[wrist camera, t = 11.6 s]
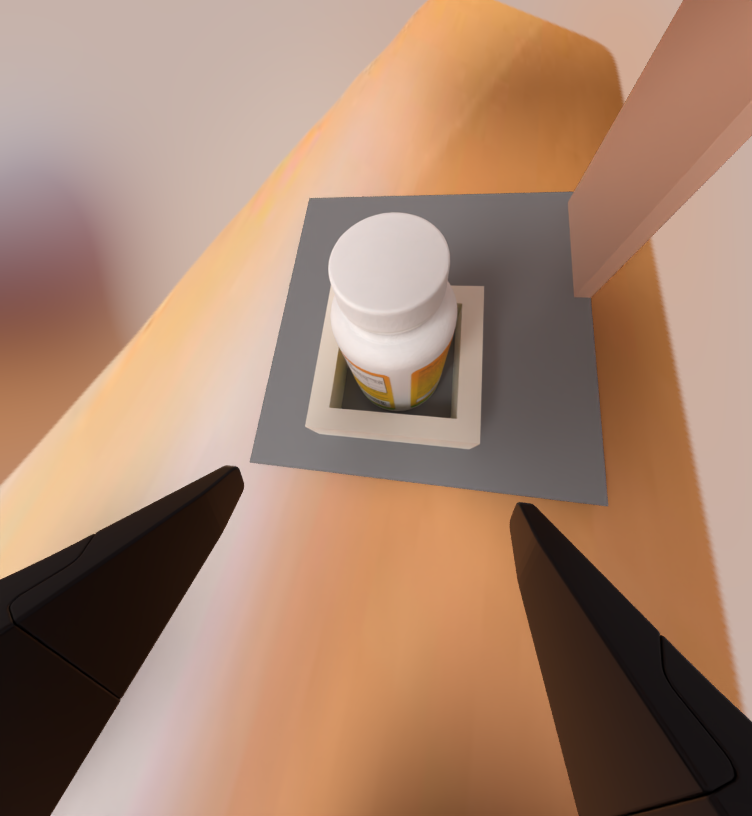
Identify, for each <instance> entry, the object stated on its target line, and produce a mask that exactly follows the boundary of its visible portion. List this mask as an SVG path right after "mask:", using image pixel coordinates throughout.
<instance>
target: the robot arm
mask: <svg viewBox="0 0 752 816" xmlns="http://www.w3.org/2000/svg"><path fill="white" fill-rule="evenodd" d="M243 490H244V482H243V479H242V476H241V472H240V470H239V468H238V467H236V466H229V465H226V466H223V467H221V468H219V469H217V470H215V471H214V472H212V473H210V474H208V475H206V476H204V477H202V478H200V479H198V480H196V481H194V482H192V483H190V484H189V485H187V486H185V487H183V488H181V489H179V490H177V491H175V492H173V493H171V494H169V495H167V496H165V497H164V498H162V499H160V500H158V501H156V502H154V503H152V504H150V505H148V506H146V507H144V508H142V509H140V510H139V511H137V512H135V513H133V514H131V515H129V516H127V517H125V518H123V519H121V520H119V521H117V522H115V523H113V524H112V525H110V526H108V527H106V528H104V529H102V530H100V531H98V532H97V533H96V534H92V535H90V536H88V537H86V538H85V539H83V540H81V541H79V542H77V543H75V544H73V545H71V546H69V547H67V548H65V549H63V550H61V551H59V552H57V553H55V554H53V555H51V556H49V557H47V558H45V559H43V560H41V561H39V562H37V563H35V564H32V565H30V566H28V567H26V568H24V569H22V570H20V571H18V572H16V573H13V574H11V575H9V576H7V577H5V578H3V579H1V580H0V816H50V815H51V814H52V812H53V810H54V809H55V807H56V805H57V804H58V802H59V800H60V799H61V797H62V795H63V794H64V792H65V791H66V789H67V787H68V786H69V784H70V782H71V781H72V779H73V777H74V776H75V774H76V773H77V771H78V769H79V768H80V766H81V764H82V763H83V761H84V759H85V758H86V756H87V755H88V753H89V751H90V750H91V748H92V746H93V745H94V743H95V741H96V740H97V738H98V737H99V735H100V733H101V732H102V730H103V728H104V727H105V725H106V723H107V722H108V720H109V718H110V717H111V715H112V714H113V712H114V710H115V709H116V707H117V705H118V704H119V702H120V699H121V698H122V697H123V695H124V694H125V692H126V690H127V689H128V687H129V685H130V684H131V682H132V680H133V679H134V677H135V676H136V674H137V672H138V671H139V669H140V667H141V666H142V664H143V662H144V661H145V659H146V658H147V656H148V654H149V653H150V651H151V649H152V648H153V646H154V644H155V643H156V641H157V639H158V638H159V636H160V635H161V633H162V631H163V630H164V628H165V626H166V625H167V623H168V621H169V620H170V618H171V617H172V615H173V613H174V612H175V610H176V608H177V607H178V605H179V603H180V602H181V600H182V599H183V597H184V595H185V594H186V592H187V590H188V589H189V587H190V585H191V584H192V582H193V580H194V579H195V577H196V576H197V574H198V572H199V571H200V569H201V567H202V566H203V564H204V562H205V561H206V559H207V558H208V556H209V554H210V553H211V551H212V549H213V548H214V546H215V544H216V543H217V541H218V540H219V538H220V536H221V534H222V533H223V531H224V529H225V527H226V525H227V523H228V521H229V519H230V517H231V515H232V513H233V511H234V509H235V507H236V504H237V502H238V500H239V498H240V496H241V494H242V492H243ZM510 533H511V540H512V546H513V553H514V560H515V566H516V573H517V579H518V584H519V588H520V592H521V596H522V600H523V604H524V607H525V611H526V615H527V619H528V623H529V627H530V630H531V634H532V638H533V642H534V646H535V650H536V653H537V657H538V661H539V665H540V669H541V673H542V676H543V680H544V684H545V688H546V692H547V696H548V699H549V703H550V707H551V711H552V715H553V719H554V722H555V726H556V730H557V734H558V738H559V742H560V745H561V749H562V753H563V757H564V761H565V765H566V768H567V772H568V776H569V780H570V784H571V788H572V791H573V795H574V799H575V803H576V807H577V811H578V814H579V816H752V722H751V721H750V720H749V719H748V718H747V717H746V716H745V715H744V714H743V713H742V712H741V711H740V710H739V709H738V708H737V707H735V706H734V705H733V704H732V703H731V702H730V701H729V700H728V699H727V698H726V697H725V696H724V695H723V694H722V693H721V692H720V691H718V690H717V689H716V688H715V687H714V686H713V685H712V684H711V683H710V682H709V681H708V680H707V679H706V678H705V677H704V676H703V675H702V674H701V673H700V672H699V671H698V670H697V669H696V668H695V667H694V666H693V665H692V664H691V663H690V662H689V661H688V660H687V659H686V658H685V657H684V656H683V655H682V654H681V653H680V652H679V651H678V650H677V649H676V648H675V647H674V646H673V645H672V644H671V643H670V642H669V641H668V640H667V639H666V638H665V637H664V636H662V635H660V633H659V631H658V630H657V629H656V628H655V627H654V626H653V625H652V624H651V623H650V622H649V621H648V620H647V619H646V618H645V617H644V616H643V615H642V614H641V613H640V612H639V611H638V610H637V609H636V608H635V607H634V606H633V605H632V604H631V603H630V602H629V601H628V600H627V599H626V598H625V597H624V596H623V595H622V594H621V593H620V592H619V590H618V589H617V588H616V587H615V586H614V585H613V584H612V583H611V582H610V581H609V580H608V579H607V578H606V577H605V576H604V575H603V574H602V573H601V572H600V571H599V570H598V569H597V568H596V567H595V566H594V565H593V564H592V563H591V562H590V561H589V560H588V559H587V558H586V557H585V556H584V555H583V554H582V553H581V552H580V551H579V550H578V549H577V548H576V547H575V546H574V545H573V544H572V543H571V542H570V541H569V540H568V539H567V538H566V537H565V536H564V535H563V534H562V533H561V532H560V531H559V530H558V529H557V528H556V527H555V526H554V525H553V524H552V523H551V522H550V521H549V520H548V519H547V518H546V517H545V516H544V515H543V514H542V513H541V511H540V510H539V509H538V508H537V507H536V506H534V505H533V504H530V503H522V502H518V503H517V504H516V506H515V509H514V511H513V514H512V516H511V519H510Z"/></svg>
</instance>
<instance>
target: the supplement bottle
mask: <svg viewBox="0 0 752 816" xmlns="http://www.w3.org/2000/svg"><path fill="white" fill-rule="evenodd" d="M449 268H450V252H449V248H448V244H447V242H446V240H445V238H444V236H443V235H442V233H441V232H440V231H439V230H438V229H437V228H436V227H435V226H434V225H433V224H432V223H430V222H429V221H427V220H425V219H423V218H421V217H418V216H416V215H412V214H407V213H399V212H391V213H382V214H378V215H374V216H371V217H368V218H366V219H364V220H362V221H360V222H358V223H356V224H355V225H353V226H352V227H350V228H349V229H348V230H347V231H346V232H345V233H343V235H342V236H341V237H340V238H339V239H338V241H337V242H336V244H335V246H334V248H333V250H332V252H331V255H330V259H329V265H328V272H329V279H330V283H331V285H332V288H333V291H334V294H335V295H334V298H333V301H332V305H331V313H330V319H331V327H332V331H333V334H334V337H335V339H336V342H337V344H338V346H339V348H340V350H341V352H342V354H343V356H344V358H345V360H346V362H347V364H348V365H349V367H350V369H351V371H352V373H353V375H354V377H355V379H356V381H357V383H358V385H359V387H360V389H361V390H362V392H363V393H364V395H365V396H366V397H367V398H368V399H369V400H370V401H371V402H372V403H373V404H375V405H376V406H378V407H380V408H383V409H386V410H390V411H406V410H410V409H413V408H415V407H417V406H419V405H421V404H422V403H424V402H425V401H426V400H428V399H429V398H430V397H431V395H432V394H433V393H434V391H435V390H436V388H437V385H438V383H439V380H440V377H441V374H442V370H443V367H444V364H445V360H446V357H447V354H448V350H449V347H450V344H451V341H452V337H453V334H454V330H455V326H456V321H457V302H456V298H455V294H454V291H453V289H452V287H451V285H450V284H449V282H448V274H449Z"/></svg>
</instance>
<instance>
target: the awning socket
mask: <svg viewBox="0 0 752 816" xmlns="http://www.w3.org/2000/svg"><path fill="white" fill-rule="evenodd" d="M751 136H752V0H683V2H682V3H681V5H680V7H679V9H678V10H677V12H676V14H675V16H674V17H673V19H672V21H671V23H670V25H669V26H668V28H667V30H666V32H665V33H664V35H663V37H662V39H661V40H660V42H659V44H658V45H657V47H656V49H655V51H654V53H653V54H652V56H651V58H650V59H649V61H648V63H647V65H646V66H645V68H644V70H643V72H642V74H641V75H640V77H639V79H638V81H637V82H636V84H635V86H634V87H633V89H632V91H631V93H630V94H629V96H628V98H627V100H626V101H625V103H624V105H623V107H622V108H621V110H620V112H619V114H618V115H617V117H616V119H615V121H614V122H613V124H612V126H611V128H610V129H609V131H608V133H607V135H606V136H605V138H604V140H603V142H602V143H601V145H600V147H599V149H598V150H597V152H596V154H595V156H594V157H593V159H592V161H591V163H590V164H589V166H588V168H587V170H586V171H585V173H584V175H583V177H582V178H581V180H580V182H579V184H578V186H577V187H576V189H575V191H574V192H542V193H502V194H462V195H421V196H381V197H341V198H309V203H308V207H307V211H306V216H305V220H304V225H303V229H302V233H301V238H300V242H299V247H298V251H297V256H296V260H295V264H294V269H293V273H292V278H291V282H290V286H289V291H288V295H287V300H286V304H285V308H284V313H283V317H282V322H281V326H280V331H279V335H278V339H277V344H276V348H275V353H274V357H273V361H272V366H271V370H270V375H269V379H268V383H267V388H266V392H265V397H264V401H263V406H262V410H261V414H260V419H259V423H258V428H257V432H256V436H255V441H254V445H253V450H252V454H251V459H250V463H258V464H267V465H275V466H283V467H291V468H299V469H307V470H316V471H324V472H332V473H340V474H348V475H356V476H364V477H373V478H381V479H389V480H397V481H405V482H413V483H422V484H430V485H438V486H446V487H454V488H462V489H470V490H479V491H487V492H495V493H503V494H511V495H519V496H528V497H536V498H544V499H552V500H560V501H568V502H577V503H585V504H593V505H601V506H608V497H607V485H606V474H605V462H604V450H603V438H602V426H601V414H600V402H599V390H598V378H597V366H596V354H595V342H594V330H593V318H592V306H591V297H592V296H593V295H594V294H595V293H596V292H597V291H598V290H599V289H600V288H601V287H602V286H603V285H604V284H605V283H606V282H607V281H608V280H609V279H610V278H611V277H612V276H613V275H614V274H615V273H616V272H617V271H618V270H619V269H620V268H621V267H622V266H623V265H624V264H625V263H626V262H627V261H628V260H629V259H630V258H631V257H632V256H633V255H634V254H635V253H636V252H637V251H638V250H639V249H640V248H641V247H642V246H643V245H644V244H645V243H646V242H647V241H648V240H649V239H650V238H651V237H652V236H653V235H654V234H655V233H656V231H658V229H660V228H661V227H662V225H663V224H665V223H666V222H667V220H669V218H670V217H671V216H672V215H673V214H674V213H675V212H676V211H677V210H678V209H679V208H680V207H681V206H682V205H683V204H684V203H685V202H686V201H687V200H688V199H689V198H690V197H691V196H692V195H693V194H694V193H695V192H696V191H697V190H698V189H699V188H700V187H701V186H702V185H703V184H704V183H705V182H706V181H707V180H708V179H709V178H710V177H711V176H712V175H713V174H714V173H715V172H716V171H717V170H718V169H719V168H720V167H721V166H722V165H723V164H724V163H725V162H726V161H727V160H728V159H729V158H730V157H731V156H732V155H733V154H734V153H735V152H736V151H737V150H738V149H739V148H740V147H741V146H742V145H743V144H744V143H745V142H746V141H747V140H748V139H749V138H750V137H751ZM391 212H399V213H407V214H412V215H416V216H418V217H421V218H423V219H425V220H427V221H429V222H430V223H432V224H433V225H434V226H435V227H436V228H437V229H438V230H439V231H440V232H441V233H442V235H443V236H444V238H445V240H446V242H447V244H448V248H449V252H450V268H449V274H448V282H449V284H450V285H451V287H452V289H453V291H454V294H455V298H456V302H457V321H456V326H455V330H454V334H453V337H452V341H451V344H450V347H449V350H448V354H447V357H446V360H445V364H444V367H443V370H442V374H441V377H440V380H439V383H438V385H437V388H436V390H435V391H434V393H433V394H432V395H431V397H430V398H429V399H428V400H426V401H425V402H424V403H422V404H421V405H419V406H417V407H415V408H413V409H410V410H406V411H390V410H386V409H383V408H380V407H378V406H376V405H375V404H373V403H372V402H371V401H370V400H369V399H368V398H367V397H366V396H365V395H364V393H363V392H362V390H361V389H360V387H359V385H358V383H357V381H356V379H355V377H354V375H353V373H352V371H351V369H350V367H349V365H348V364H347V362H346V360H345V358H344V356H343V354H342V352H341V350H340V348H339V346H338V344H337V342H336V339H335V337H334V334H333V331H332V327H331V319H330V313H331V305H332V301H333V298H334V295H335V294H334V291H333V288H332V285H331V283H330V279H329V272H328V265H329V259H330V255H331V252H332V250H333V248H334V246H335V244H336V242H337V241H338V239H339V238H340V237H341V236H342V235H343V233H345V232H346V231H347V230H348V229H349V228H350V227H352V226H353V225H355V224H356V223H358V222H360V221H362V220H364V219H366V218H368V217H371V216H374V215H378V214H382V213H391Z"/></svg>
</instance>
